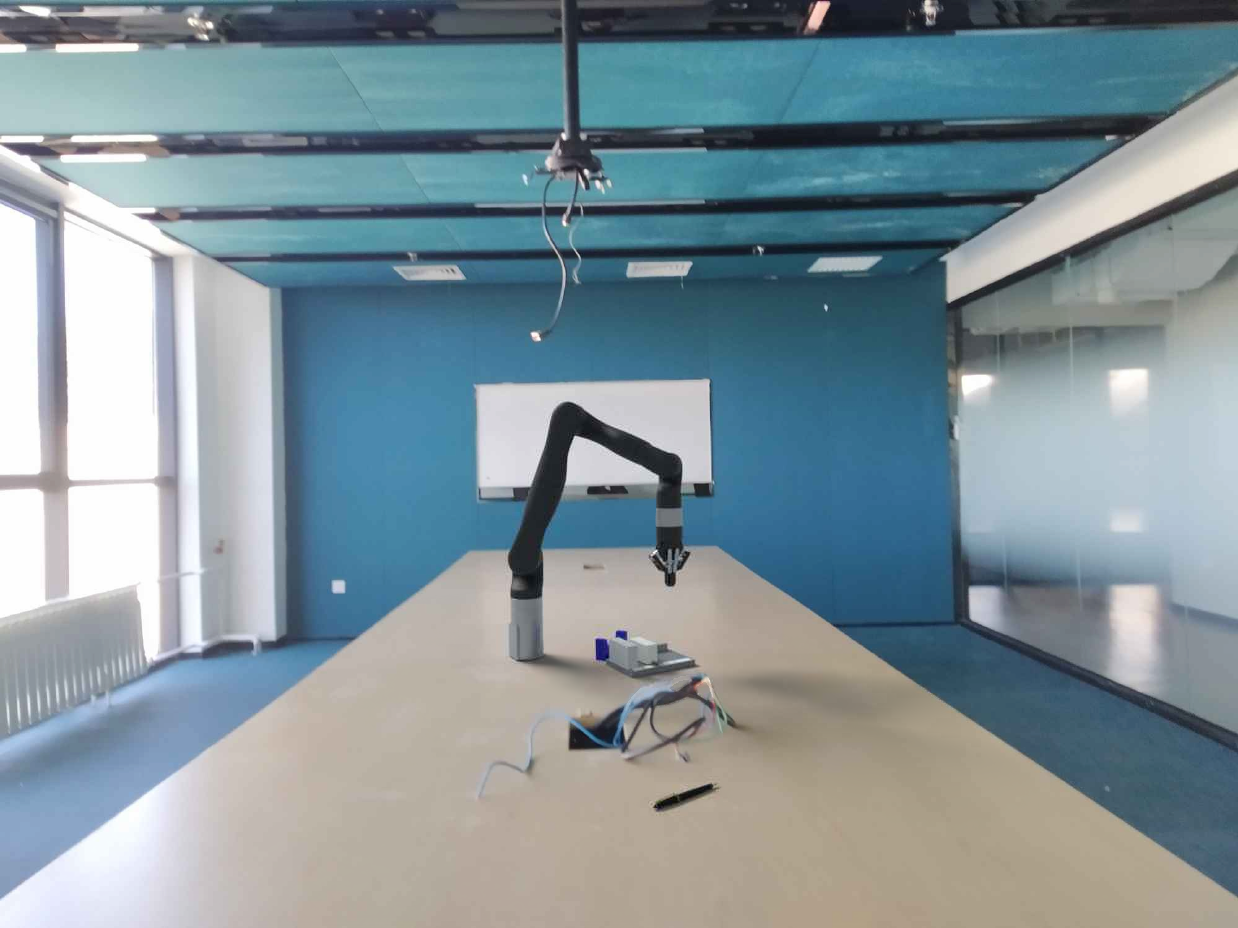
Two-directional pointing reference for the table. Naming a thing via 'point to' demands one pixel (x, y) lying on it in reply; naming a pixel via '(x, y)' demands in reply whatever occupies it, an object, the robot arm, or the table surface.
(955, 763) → the table surface
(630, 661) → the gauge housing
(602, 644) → the cable clip
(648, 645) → the block
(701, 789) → the fountain pen
